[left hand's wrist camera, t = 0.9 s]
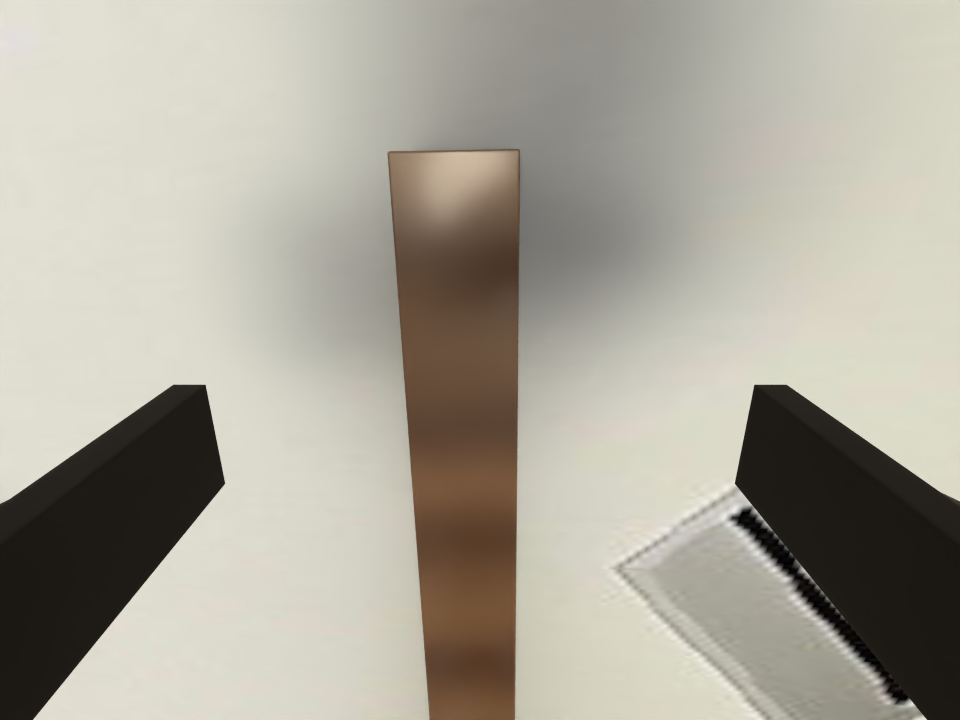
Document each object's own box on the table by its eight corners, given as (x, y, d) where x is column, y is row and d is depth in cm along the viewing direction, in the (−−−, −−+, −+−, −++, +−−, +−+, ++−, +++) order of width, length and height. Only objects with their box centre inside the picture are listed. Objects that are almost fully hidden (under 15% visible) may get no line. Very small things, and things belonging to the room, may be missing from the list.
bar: (412, 155, 26) (387, 151, 19) (511, 153, 26) (520, 149, 19) (451, 816, 45) (445, 931, 38) (508, 816, 45) (512, 931, 38)
